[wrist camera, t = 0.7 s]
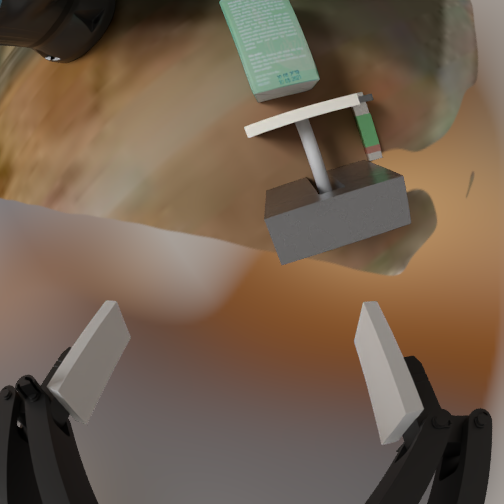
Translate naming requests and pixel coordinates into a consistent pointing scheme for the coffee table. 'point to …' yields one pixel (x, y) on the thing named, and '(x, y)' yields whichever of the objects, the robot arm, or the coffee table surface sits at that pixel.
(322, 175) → the plunger
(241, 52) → the box
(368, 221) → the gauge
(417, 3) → the coffee table surface
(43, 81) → the coffee table surface
